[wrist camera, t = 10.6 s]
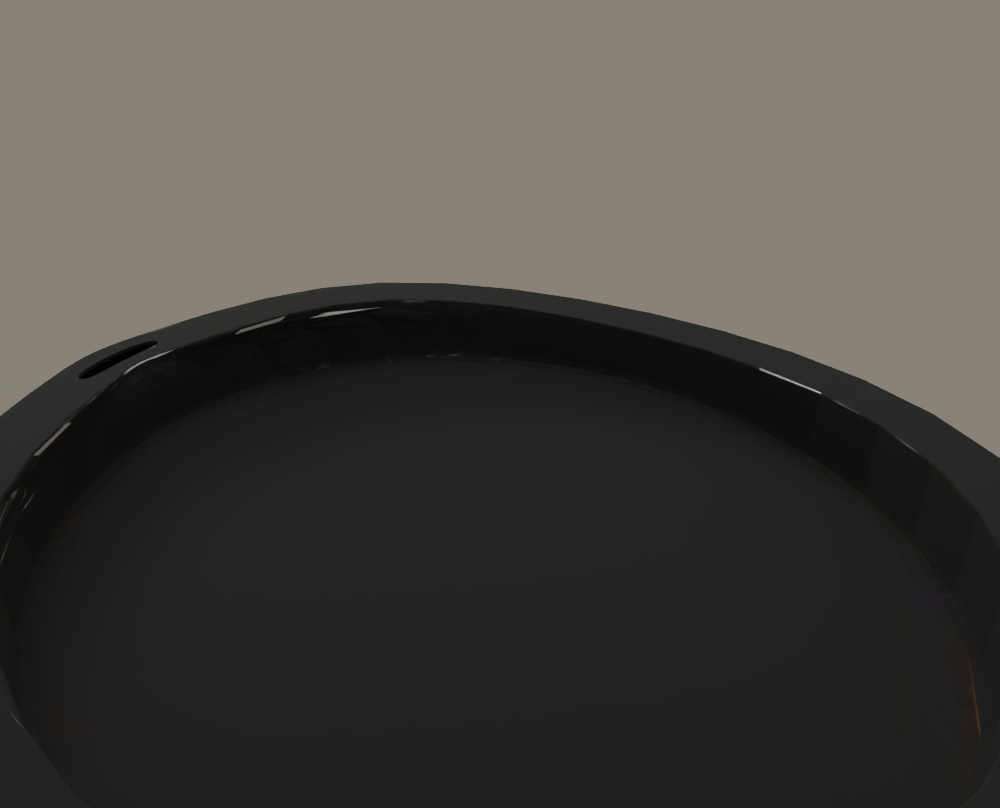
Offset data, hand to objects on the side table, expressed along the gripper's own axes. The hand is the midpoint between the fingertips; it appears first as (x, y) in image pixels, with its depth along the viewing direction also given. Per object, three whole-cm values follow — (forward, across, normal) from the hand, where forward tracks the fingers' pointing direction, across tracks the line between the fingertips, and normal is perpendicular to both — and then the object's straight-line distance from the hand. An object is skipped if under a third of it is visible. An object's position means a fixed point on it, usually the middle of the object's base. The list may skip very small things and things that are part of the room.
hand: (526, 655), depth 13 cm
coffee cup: (-5, 0, -8) cm, 10 cm away
